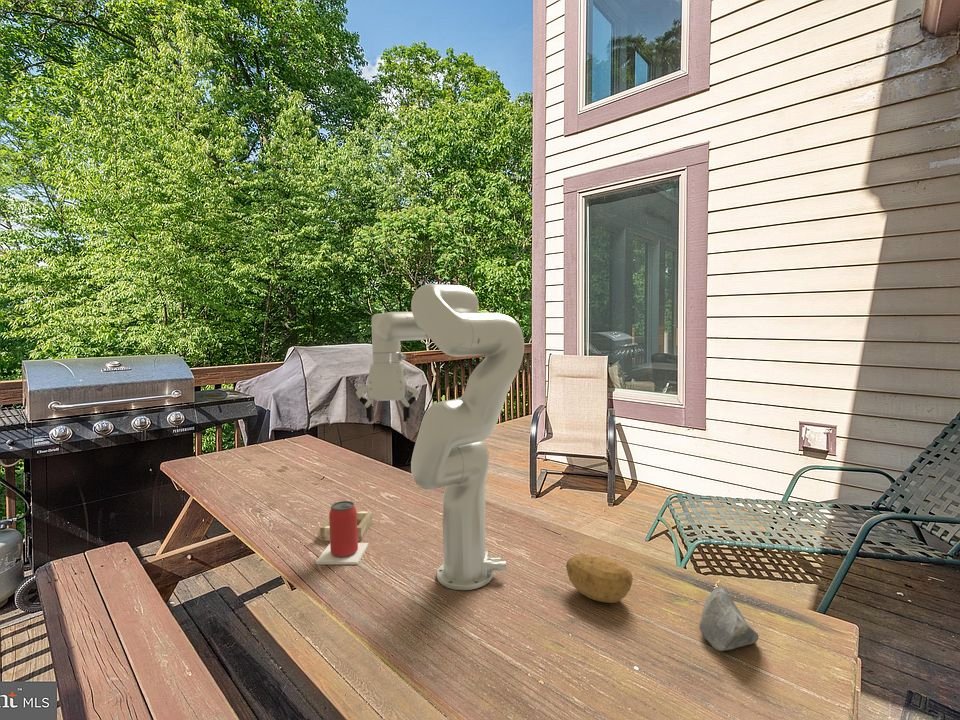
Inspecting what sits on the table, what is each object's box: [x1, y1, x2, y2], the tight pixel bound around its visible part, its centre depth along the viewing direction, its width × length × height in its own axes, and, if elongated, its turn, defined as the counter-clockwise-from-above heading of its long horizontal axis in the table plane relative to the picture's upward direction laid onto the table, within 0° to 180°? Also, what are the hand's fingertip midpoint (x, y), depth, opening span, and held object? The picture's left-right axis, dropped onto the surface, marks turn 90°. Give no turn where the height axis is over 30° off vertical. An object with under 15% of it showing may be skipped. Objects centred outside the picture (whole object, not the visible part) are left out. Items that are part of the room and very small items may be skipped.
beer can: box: [328, 500, 359, 557], centre depth 119 cm, size 7×7×12 cm
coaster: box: [315, 542, 369, 565], centre depth 120 cm, size 10×10×1 cm
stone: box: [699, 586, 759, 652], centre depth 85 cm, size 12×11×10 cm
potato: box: [565, 553, 634, 604], centre depth 99 cm, size 10×14×8 cm
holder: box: [319, 511, 373, 542], centre depth 133 cm, size 11×11×4 cm
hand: (388, 420), depth 133 cm, fingers open, 9 cm apart
